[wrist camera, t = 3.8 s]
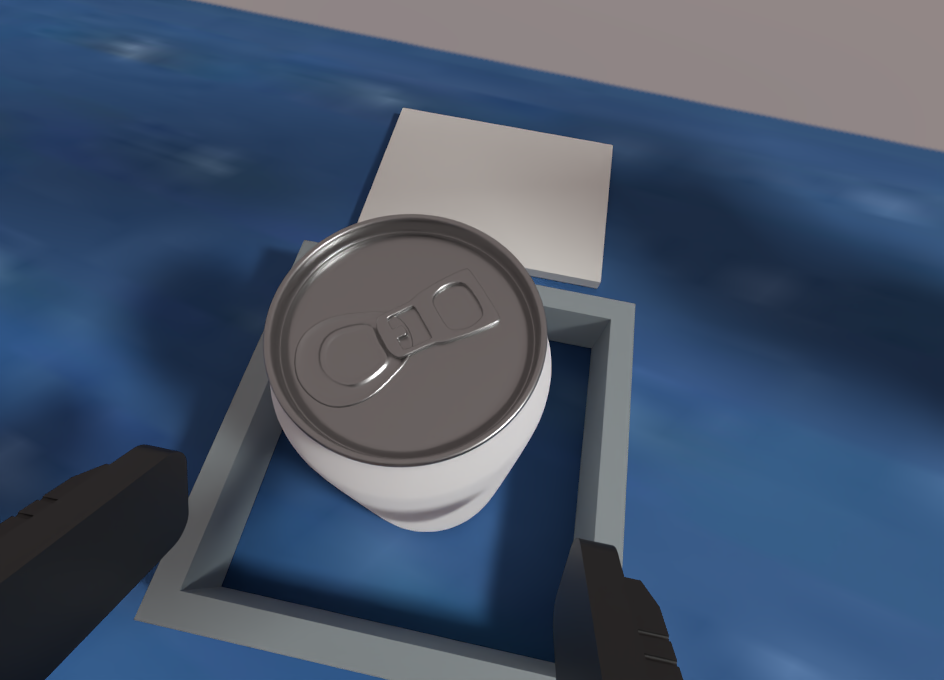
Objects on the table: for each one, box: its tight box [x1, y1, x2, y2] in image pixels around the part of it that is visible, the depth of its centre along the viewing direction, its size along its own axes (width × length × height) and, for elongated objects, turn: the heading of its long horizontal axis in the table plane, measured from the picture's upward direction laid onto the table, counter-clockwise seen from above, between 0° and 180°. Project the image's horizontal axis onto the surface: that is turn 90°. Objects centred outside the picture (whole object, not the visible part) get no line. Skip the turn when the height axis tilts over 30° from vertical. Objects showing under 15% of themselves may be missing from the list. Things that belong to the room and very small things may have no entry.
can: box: [263, 214, 551, 532], centre depth 15 cm, size 6×6×12 cm
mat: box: [358, 108, 613, 288], centre depth 26 cm, size 13×10×1 cm
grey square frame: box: [134, 240, 635, 680], centre depth 19 cm, size 15×15×3 cm
